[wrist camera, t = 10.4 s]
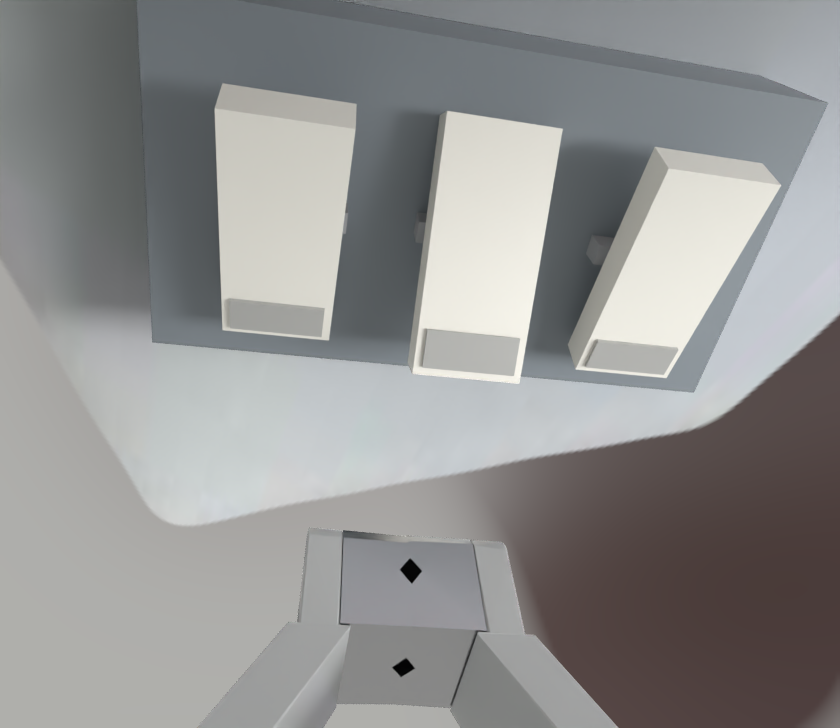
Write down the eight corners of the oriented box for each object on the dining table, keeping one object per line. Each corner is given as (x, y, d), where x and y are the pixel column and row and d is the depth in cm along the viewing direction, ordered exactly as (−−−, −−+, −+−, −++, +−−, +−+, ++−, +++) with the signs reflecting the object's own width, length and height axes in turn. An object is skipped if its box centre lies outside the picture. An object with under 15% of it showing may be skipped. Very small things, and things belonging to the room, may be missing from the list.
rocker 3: (762, 163, 24) (783, 187, 23) (655, 353, 30) (667, 380, 29) (654, 146, 23) (670, 170, 22) (567, 344, 29) (576, 372, 28)
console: (759, 75, 29) (844, 109, 24) (652, 340, 36) (701, 409, 31) (170, -29, 25) (126, -15, 20) (177, 291, 32) (146, 360, 27)
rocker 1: (356, 103, 21) (355, 131, 20) (330, 313, 28) (328, 343, 27) (222, 83, 21) (213, 111, 19) (228, 303, 27) (221, 333, 26)
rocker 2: (548, 132, 25) (564, 128, 23) (508, 372, 27) (520, 384, 25) (439, 115, 24) (447, 110, 23) (407, 363, 26) (412, 375, 25)
